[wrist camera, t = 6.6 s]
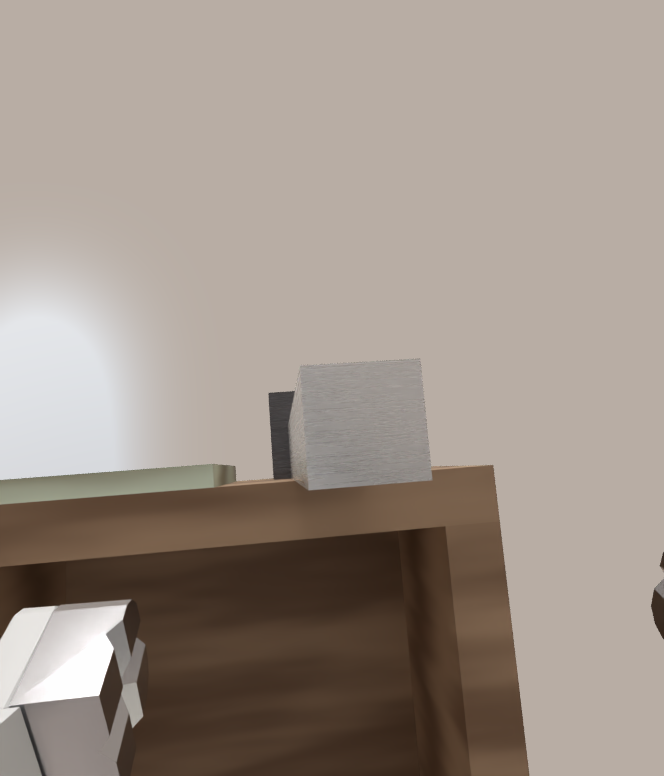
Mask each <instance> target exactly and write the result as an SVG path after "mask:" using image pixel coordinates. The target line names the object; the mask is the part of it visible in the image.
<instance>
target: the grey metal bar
mask: <svg viewBox="0 0 664 776" xmlns="http://www.w3.org/2000/svg"><path fill="white" fill-rule="evenodd" d="M269 409H270V426H271V442H272V458H273V475H274V480H277V479H290V478H292V479H293V480H294V481H296V482H297V483H299V484H300V485H302V486H303V487H304V488H306V489H307V490H321V489H333V488H345V487H357V486H370V485H382V484H394V483H406V482H418V481H431V480H432V471H431V461H430V451H429V441H428V432H427V422H426V411H425V401H424V391H423V381H422V372H421V362H420V359H407V360H389V361H372V362H356V363H355V362H354V363H337V364H320V365H303V366H300V368H299V373H298V378H297V383H296V388H295V391H292V392H276V393H269Z"/></svg>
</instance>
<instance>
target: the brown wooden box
mask: <svg viewBox="0 0 664 776" xmlns="http://www.w3.org/2000/svg"><path fill="white" fill-rule="evenodd" d="M431 471H432V480H431V481H418V482H406V483H394V484H382V485H370V486H357V487H345V488H333V489H321V490H307V489H306V488H304V487H303V486H302V485H300V484H299V483H297V482H296V481H294V480H293V479H292V478H290V479H277V480H274V479H262V480H249V481H236V470H235V466H229V465H217V464H208V465H195V466H181V467H168V468H156V469H143V470H142V469H141V470H129V471H115V472H102V473H90V474H89V473H88V474H75V475H63V476H49V477H36V478H22V479H10V480H0V639H1V638H2V636H3V634H4V632H5V631H6V629H7V627H8V625H9V623H10V622H11V620H12V618H13V617H14V615H15V614H17V613H18V612H19V611H21V610H22V609H23V608H36V607H49V606H60V605H65V604H78V603H91V602H104V601H117V600H129V599H132V600H133V601H135V602H136V603H137V607H138V611H139V616H140V620H141V621H140V625H139V629H138V633H137V638H138V639H139V640H140V641H142V642H143V643H144V644H145V645H146V651H147V656H148V669H149V678H148V692H147V700H146V705H145V710H144V715H143V717H142V718H141V719H140V720H139V721H138V723H137V724H136V725H135V726H134V727H133V728H132V729H133V734H134V738H135V743H136V752H135V756H134V761H133V765H132V770H131V774H130V776H529V769H528V760H527V751H526V743H525V735H524V726H523V717H522V710H521V700H520V692H519V683H518V674H517V666H516V658H515V648H514V640H513V632H512V623H511V614H510V606H509V597H508V588H507V580H506V571H505V564H504V554H503V546H502V537H501V529H500V520H499V512H498V503H497V494H496V485H495V477H494V468H493V465H484V466H483V465H480V466H433V467H431Z"/></svg>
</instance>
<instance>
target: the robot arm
mask: <svg viewBox="0 0 664 776" xmlns="http://www.w3.org/2000/svg"><path fill="white" fill-rule="evenodd" d="M660 567H661V568H662V570H663V572H664V552H663V556H662V560H661V563H660ZM651 607H652V612H653V616H654V621H655V624H656V626H657V628H658V630H659V632H660V634H661V636H662V638H663V639H664V579H663V580H662V581H661V582H660V583H659V584H658V585H657V586H656V587H655V589H654V593H653V598H652V604H651ZM140 621H141V620H140V616H139V611H138V607H137V603H136V602H135V601H133V600H132V599H129V600H117V601H104V602H91V603H78V604H65V605H60V606H49V607H36V608H23V609H22V610H21V611H19V612H18V613H17V614H15V615H14V617H13V618H12V620H11V622H10V623H9V625H8V627H7V629H6V631H5V632H4V634H3V636H2V638H1V639H0V776H130V774H131V770H132V765H133V761H134V756H135V752H136V743H135V738H134V734H133V729H132V728H133V727H134V726H135V725H136V724H137V723H138V721H139V720H140V719H141V718H142V717H143V715H144V710H145V705H146V700H147V692H148V678H149V669H148V656H147V651H146V645H145V644H144V643H143V642H142V641H140V640H139V639H138V638H137V633H138V629H139V625H140Z"/></svg>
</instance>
